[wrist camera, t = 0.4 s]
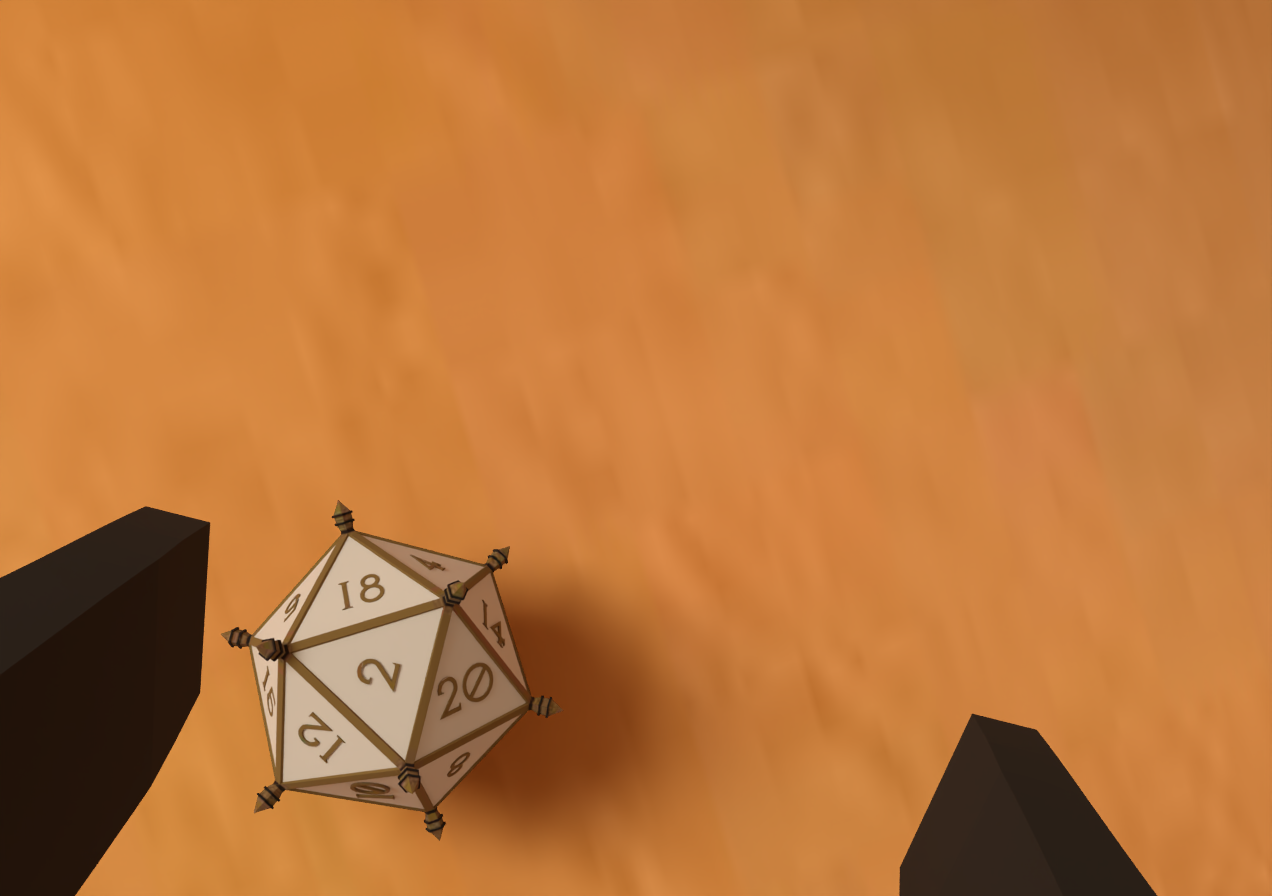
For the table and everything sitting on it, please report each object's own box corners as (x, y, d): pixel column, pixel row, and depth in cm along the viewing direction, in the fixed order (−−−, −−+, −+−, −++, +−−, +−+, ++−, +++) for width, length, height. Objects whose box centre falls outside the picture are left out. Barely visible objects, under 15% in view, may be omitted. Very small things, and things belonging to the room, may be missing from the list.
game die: (425, 613, 41) (561, 448, 35) (492, 855, 37) (660, 719, 31) (156, 630, 36) (258, 439, 29) (201, 915, 32) (331, 766, 25)
